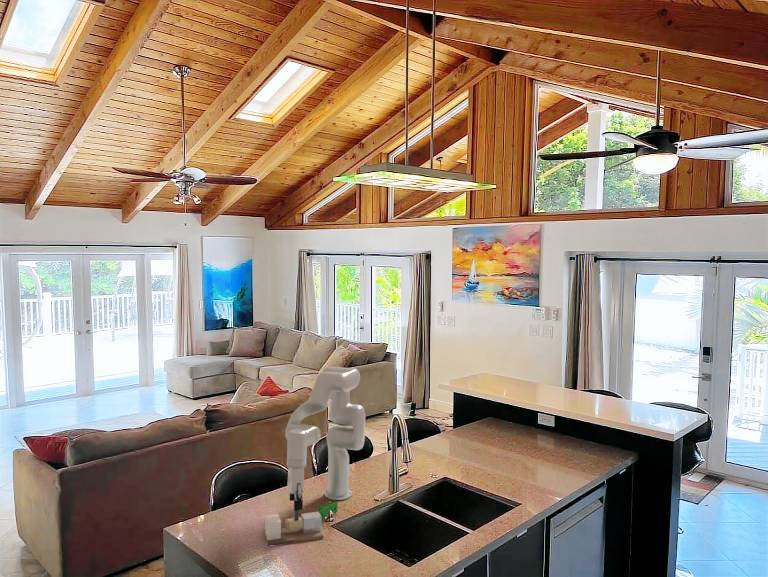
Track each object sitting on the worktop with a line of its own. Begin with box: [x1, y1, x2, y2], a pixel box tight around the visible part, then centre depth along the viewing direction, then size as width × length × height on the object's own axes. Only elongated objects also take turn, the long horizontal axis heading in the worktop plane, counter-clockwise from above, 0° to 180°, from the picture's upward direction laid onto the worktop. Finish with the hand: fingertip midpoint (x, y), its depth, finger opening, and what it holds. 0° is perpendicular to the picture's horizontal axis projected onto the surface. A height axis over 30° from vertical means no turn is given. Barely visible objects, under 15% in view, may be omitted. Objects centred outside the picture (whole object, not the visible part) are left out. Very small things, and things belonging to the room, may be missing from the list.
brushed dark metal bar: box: [284, 499, 303, 530], centre depth 226 cm, size 3×13×11 cm, turn 109°
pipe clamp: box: [317, 501, 339, 522], centre depth 243 cm, size 11×4×5 cm, turn 145°
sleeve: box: [300, 511, 322, 534], centre depth 227 cm, size 5×7×6 cm
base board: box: [263, 525, 324, 547], centre depth 225 cm, size 12×21×1 cm, turn 109°
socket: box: [264, 513, 282, 541], centre depth 223 cm, size 7×5×6 cm
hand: (295, 505), depth 225 cm, fingers open, 9 cm apart
